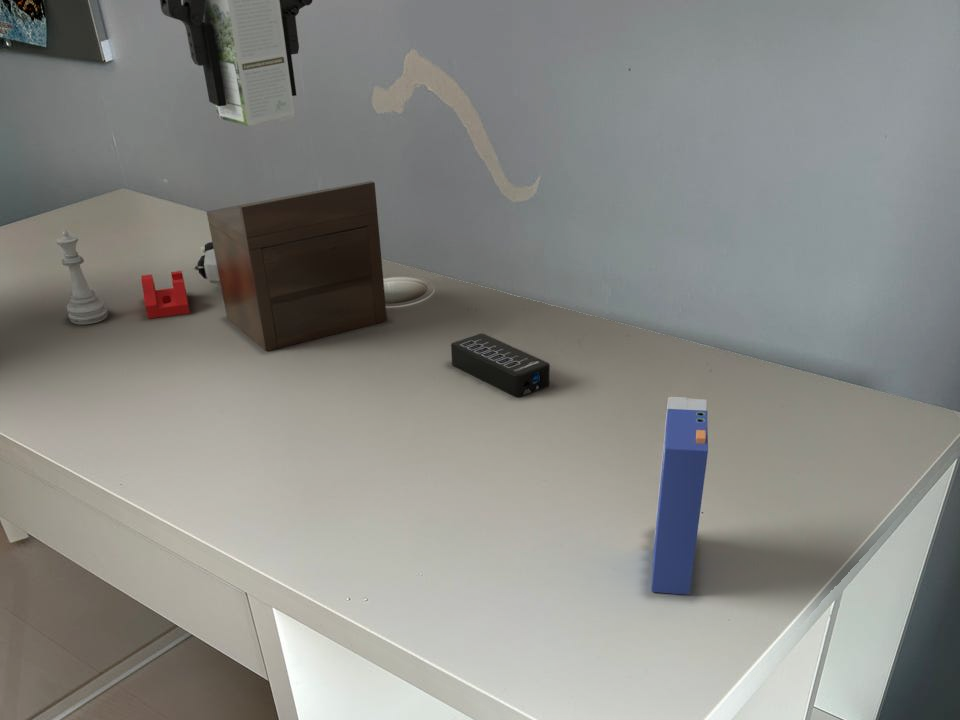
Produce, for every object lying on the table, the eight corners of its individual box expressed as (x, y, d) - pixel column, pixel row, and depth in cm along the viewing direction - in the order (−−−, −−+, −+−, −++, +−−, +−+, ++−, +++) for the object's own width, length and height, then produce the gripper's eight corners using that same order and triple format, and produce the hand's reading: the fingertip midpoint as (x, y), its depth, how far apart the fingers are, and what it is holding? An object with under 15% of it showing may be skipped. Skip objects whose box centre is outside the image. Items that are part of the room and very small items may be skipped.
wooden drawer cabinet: (226, 318, 116) (200, 182, 106) (341, 291, 122) (326, 160, 112) (266, 351, 108) (241, 207, 98) (387, 320, 114) (374, 182, 104)
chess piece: (116, 314, 118) (93, 227, 111) (89, 327, 115) (63, 238, 108) (89, 309, 119) (64, 223, 113) (61, 321, 116) (35, 234, 110)
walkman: (690, 595, 71) (709, 445, 63) (650, 592, 71) (665, 443, 64) (690, 536, 77) (708, 393, 69) (654, 533, 77) (668, 391, 70)
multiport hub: (482, 352, 106) (482, 332, 104) (551, 385, 99) (551, 363, 97) (450, 364, 103) (449, 343, 102) (517, 398, 97) (517, 376, 95)
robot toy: (202, 269, 132) (198, 300, 120) (195, 234, 129) (191, 261, 117) (293, 260, 134) (300, 290, 121) (288, 225, 131) (294, 251, 119)
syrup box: (297, 118, 96) (275, -64, 87) (246, 128, 93) (217, -60, 84) (264, 110, 99) (240, -66, 90) (214, 119, 96) (183, -62, 87)
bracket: (147, 300, 121) (141, 275, 119) (186, 295, 122) (181, 270, 120) (148, 318, 116) (142, 293, 114) (189, 313, 117) (184, 288, 115)
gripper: (97, -219, 74) (166, 119, 89) (331, -220, 82) (360, 91, 96) (73, -213, 80) (143, 105, 94) (296, -215, 87) (329, 80, 102)
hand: (253, 98), depth 95 cm, fingers closed on syrup box, 6 cm apart
